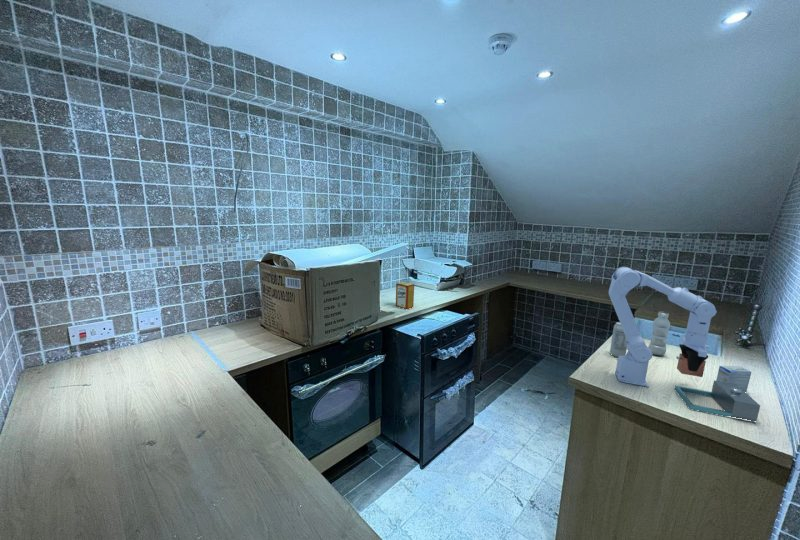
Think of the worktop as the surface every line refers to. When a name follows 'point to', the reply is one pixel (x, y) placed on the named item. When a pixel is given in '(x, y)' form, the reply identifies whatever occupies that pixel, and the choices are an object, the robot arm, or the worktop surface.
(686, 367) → the brown wooden block
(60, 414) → the worktop surface
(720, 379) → the medicine box
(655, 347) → the plastic bottle
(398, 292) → the baking soda box
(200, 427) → the worktop surface
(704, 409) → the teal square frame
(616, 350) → the energy drink can
